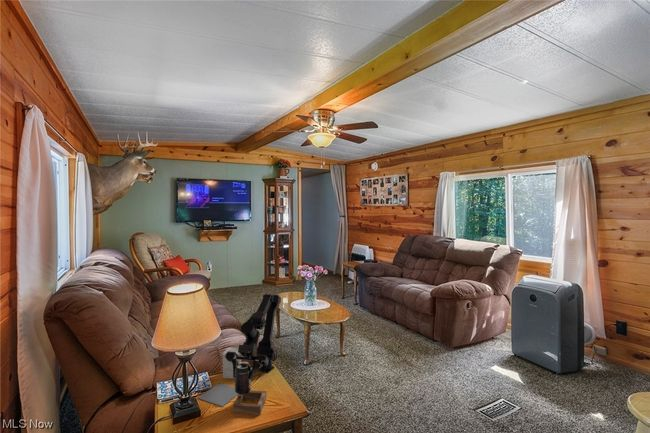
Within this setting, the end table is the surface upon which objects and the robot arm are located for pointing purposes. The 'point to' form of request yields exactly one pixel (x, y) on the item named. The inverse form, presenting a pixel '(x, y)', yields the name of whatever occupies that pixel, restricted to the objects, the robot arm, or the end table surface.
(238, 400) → the pocket frame
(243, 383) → the beverage can
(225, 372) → the supplement box
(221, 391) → the slate mat
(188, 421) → the end table surface
